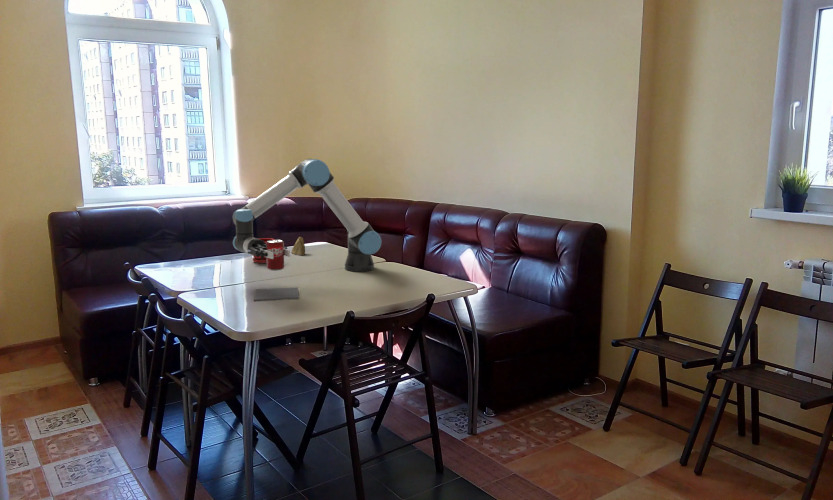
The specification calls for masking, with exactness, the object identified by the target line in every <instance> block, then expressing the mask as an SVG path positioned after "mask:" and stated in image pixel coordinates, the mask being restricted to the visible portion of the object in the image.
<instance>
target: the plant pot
mask: <svg viewBox="0 0 833 500" xmlns="http://www.w3.org/2000/svg"><path fill="white" fill-rule="evenodd" d="M259 239H260V240H263V241H264V242H265V243H266V242H267V241H269V240H275V239H274V238H272V237H271V238H268V237H266V238H265V237H264V238H259ZM252 257H253V258H252V261H253V262H255V263H256V264H267V258H266V257H264V258H261V256H259V257H256V256H254V255H253V256H252Z"/></svg>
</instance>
